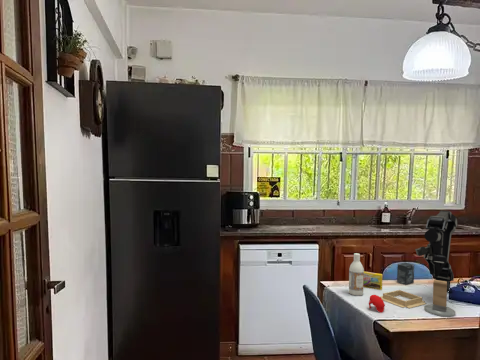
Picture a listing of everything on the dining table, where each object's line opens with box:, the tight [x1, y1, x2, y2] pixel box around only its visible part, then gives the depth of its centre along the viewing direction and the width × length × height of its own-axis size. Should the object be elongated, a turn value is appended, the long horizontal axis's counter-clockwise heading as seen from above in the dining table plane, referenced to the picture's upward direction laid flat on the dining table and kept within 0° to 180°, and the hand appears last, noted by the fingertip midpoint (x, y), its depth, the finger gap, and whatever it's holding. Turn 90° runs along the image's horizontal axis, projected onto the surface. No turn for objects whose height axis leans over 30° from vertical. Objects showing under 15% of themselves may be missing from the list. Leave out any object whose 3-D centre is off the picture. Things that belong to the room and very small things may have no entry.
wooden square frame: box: [379, 289, 427, 309], centre depth 169 cm, size 16×16×2 cm
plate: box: [423, 303, 457, 318], centre depth 156 cm, size 12×12×1 cm
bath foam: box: [348, 252, 365, 297], centre depth 178 cm, size 7×7×20 cm
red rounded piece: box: [368, 294, 386, 314], centre depth 157 cm, size 8×6×6 cm
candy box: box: [363, 270, 384, 291], centre depth 189 cm, size 16×2×8 cm, turn 58°
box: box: [396, 262, 415, 286], centre depth 198 cm, size 8×6×11 cm
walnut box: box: [432, 279, 448, 312], centre depth 156 cm, size 5×5×12 cm
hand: (433, 275), depth 170 cm, fingers open, 9 cm apart
